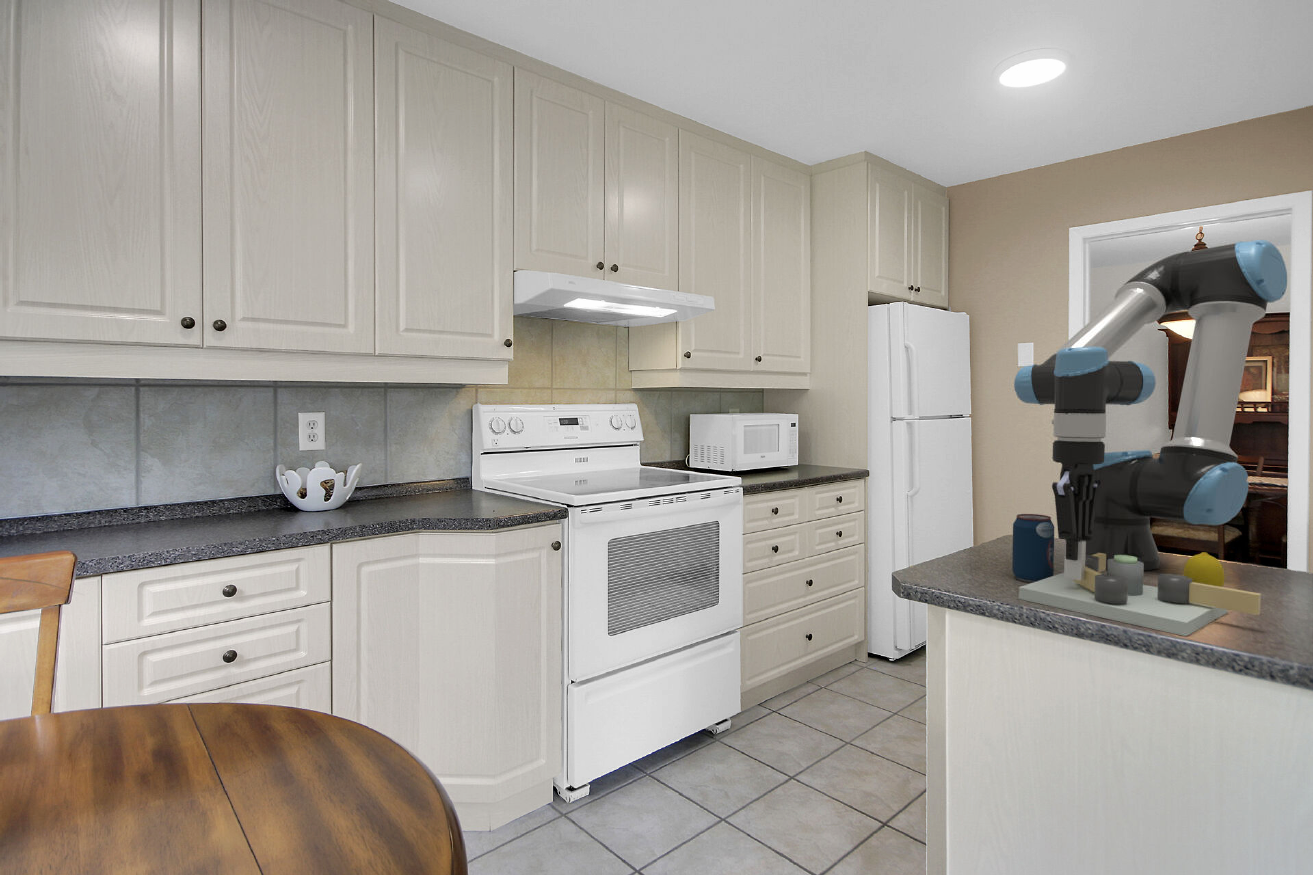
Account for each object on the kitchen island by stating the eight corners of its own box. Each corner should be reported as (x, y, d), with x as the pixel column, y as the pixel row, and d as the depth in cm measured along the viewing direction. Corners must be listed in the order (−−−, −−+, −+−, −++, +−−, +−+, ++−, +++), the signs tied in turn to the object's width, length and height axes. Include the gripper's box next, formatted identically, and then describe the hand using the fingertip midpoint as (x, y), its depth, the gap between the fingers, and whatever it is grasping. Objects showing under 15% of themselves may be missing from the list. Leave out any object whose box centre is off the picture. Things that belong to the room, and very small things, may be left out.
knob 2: (1152, 598, 112) (1153, 576, 112) (1163, 593, 115) (1164, 572, 115) (1254, 618, 102) (1255, 594, 102) (1263, 612, 105) (1264, 589, 104)
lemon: (1231, 604, 116) (1233, 556, 116) (1193, 602, 117) (1194, 555, 117) (1212, 595, 122) (1213, 549, 121) (1175, 593, 123) (1177, 548, 122)
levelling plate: (1067, 581, 131) (1068, 540, 131) (1227, 612, 112) (1229, 564, 112) (1018, 598, 121) (1019, 553, 120) (1186, 636, 101) (1187, 582, 101)
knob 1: (1091, 580, 123) (1092, 561, 123) (1065, 575, 127) (1065, 556, 127) (1115, 572, 129) (1115, 553, 129) (1089, 567, 132) (1089, 549, 132)
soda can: (1059, 584, 130) (1060, 519, 129) (1019, 583, 131) (1020, 519, 130) (1044, 574, 137) (1046, 513, 136) (1006, 573, 138) (1007, 512, 137)
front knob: (1133, 603, 110) (1134, 581, 109) (1103, 603, 110) (1104, 581, 110) (1091, 582, 122) (1091, 562, 122) (1064, 582, 123) (1065, 562, 122)
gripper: (1072, 437, 125) (1068, 569, 126) (1036, 439, 118) (1032, 579, 119) (1119, 439, 119) (1115, 577, 120) (1085, 441, 112) (1080, 588, 113)
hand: (1074, 578), depth 120 cm, fingers closed
